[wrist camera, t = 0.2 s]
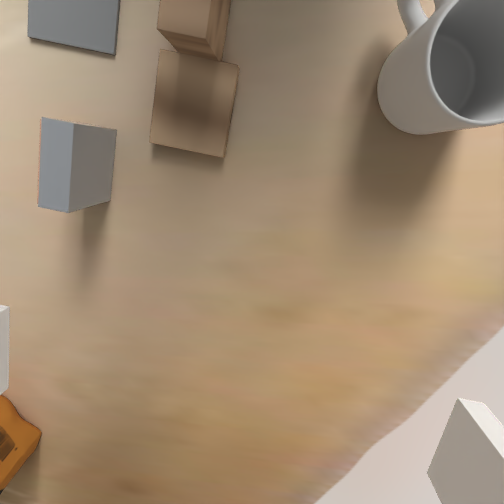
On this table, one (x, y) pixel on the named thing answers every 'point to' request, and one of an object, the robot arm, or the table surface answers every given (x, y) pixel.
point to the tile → (74, 164)
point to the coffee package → (14, 441)
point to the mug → (446, 68)
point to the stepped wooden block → (194, 78)
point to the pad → (75, 23)
